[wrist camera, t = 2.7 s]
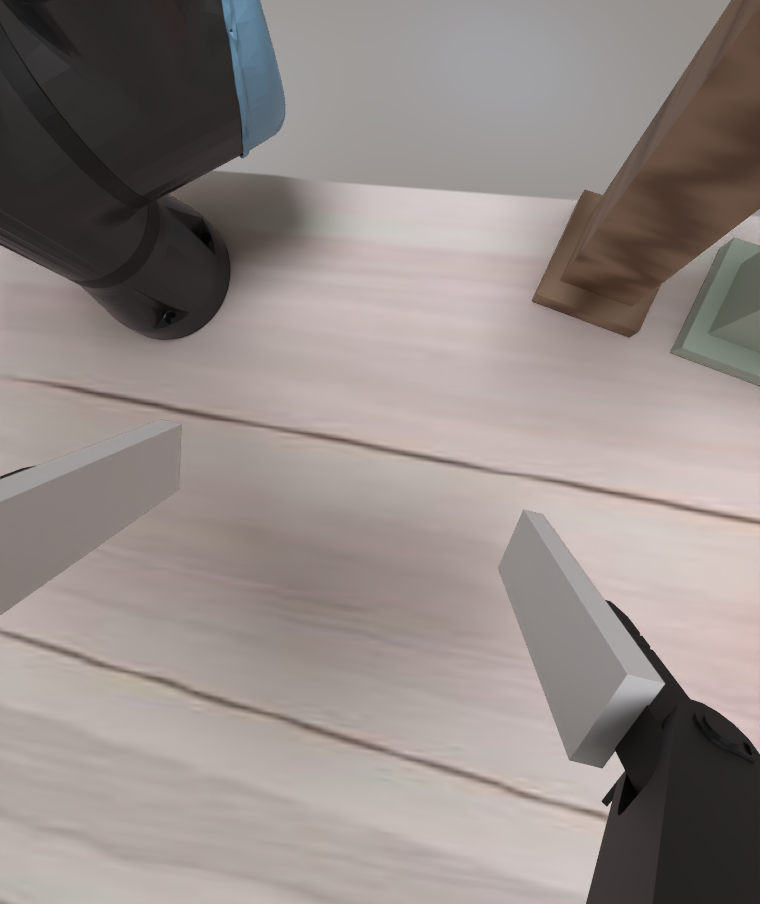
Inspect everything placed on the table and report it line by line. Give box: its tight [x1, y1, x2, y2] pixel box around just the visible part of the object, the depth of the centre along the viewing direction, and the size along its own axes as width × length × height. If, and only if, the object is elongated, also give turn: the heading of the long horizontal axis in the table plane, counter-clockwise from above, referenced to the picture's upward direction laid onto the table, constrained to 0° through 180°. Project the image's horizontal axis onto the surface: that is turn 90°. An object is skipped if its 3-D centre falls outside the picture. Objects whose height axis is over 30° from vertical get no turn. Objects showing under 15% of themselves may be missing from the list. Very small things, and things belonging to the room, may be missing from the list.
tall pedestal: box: [532, 0, 760, 337], centre depth 20 cm, size 10×11×31 cm
